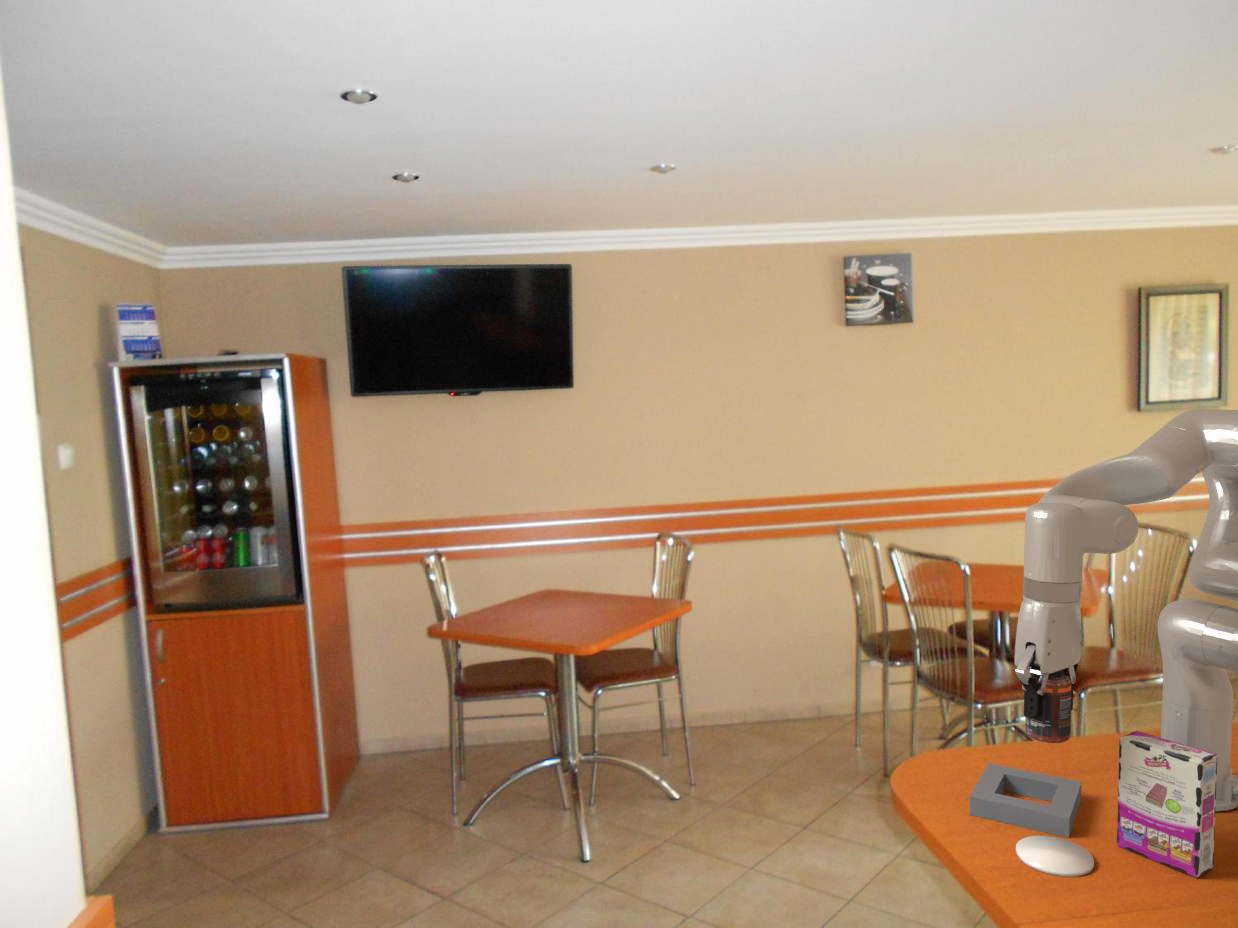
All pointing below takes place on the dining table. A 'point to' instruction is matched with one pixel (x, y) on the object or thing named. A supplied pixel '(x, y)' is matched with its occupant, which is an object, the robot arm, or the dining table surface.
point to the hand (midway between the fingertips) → (1048, 712)
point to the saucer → (1055, 856)
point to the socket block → (1024, 812)
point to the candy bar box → (1167, 802)
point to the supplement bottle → (1053, 710)
